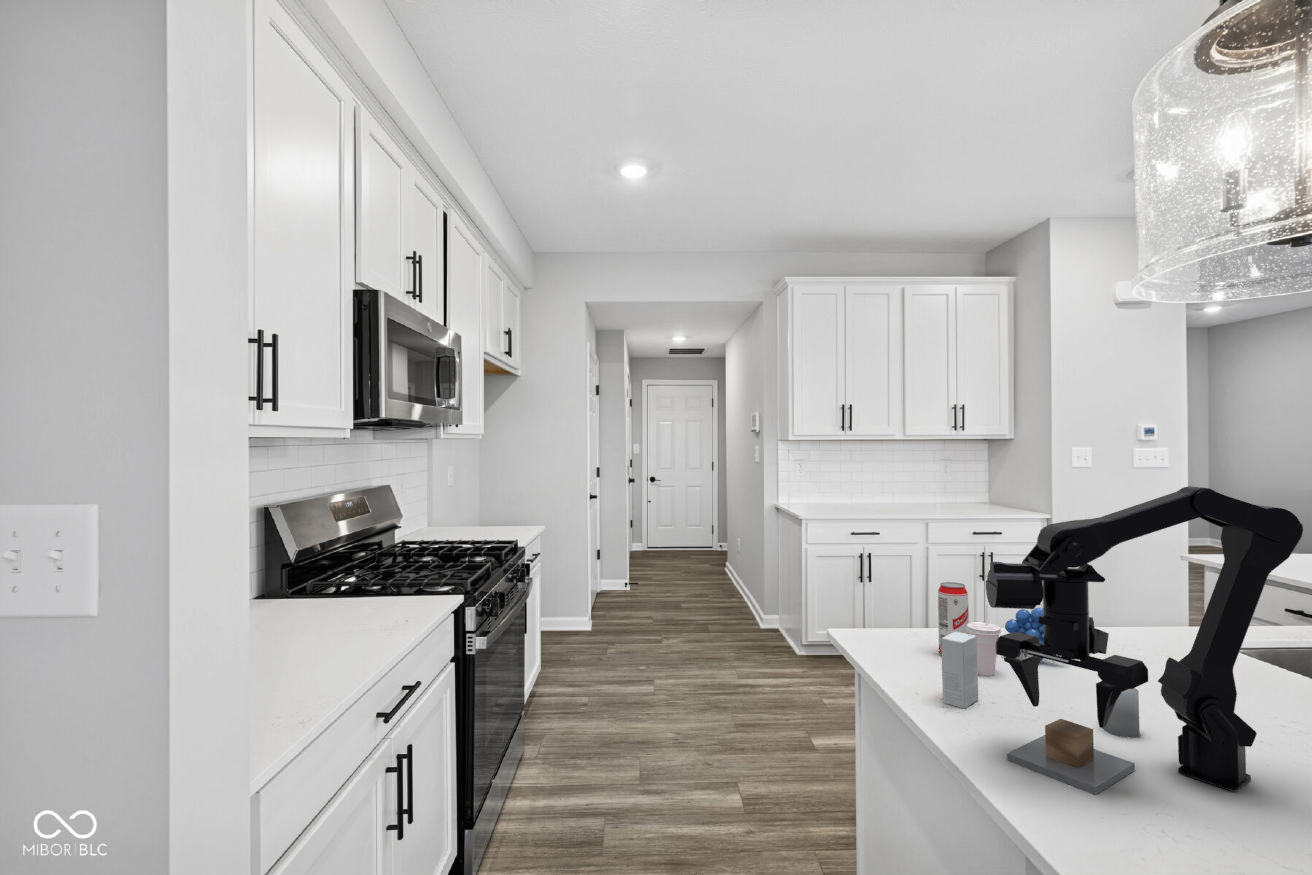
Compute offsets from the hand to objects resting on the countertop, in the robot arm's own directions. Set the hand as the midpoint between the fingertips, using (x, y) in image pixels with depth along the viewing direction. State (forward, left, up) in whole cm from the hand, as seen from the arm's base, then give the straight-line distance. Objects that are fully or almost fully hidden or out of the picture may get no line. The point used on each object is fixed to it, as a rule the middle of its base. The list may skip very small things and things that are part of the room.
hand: (1067, 716), depth 96 cm
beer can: (+39, -32, -7) cm, 51 cm away
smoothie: (+29, -27, -7) cm, 40 cm away
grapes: (+27, -43, -7) cm, 51 cm away
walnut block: (0, 0, -6) cm, 6 cm away
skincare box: (+23, -9, -7) cm, 26 cm away
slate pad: (0, 0, -7) cm, 7 cm away
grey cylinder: (+1, -19, -7) cm, 20 cm away
